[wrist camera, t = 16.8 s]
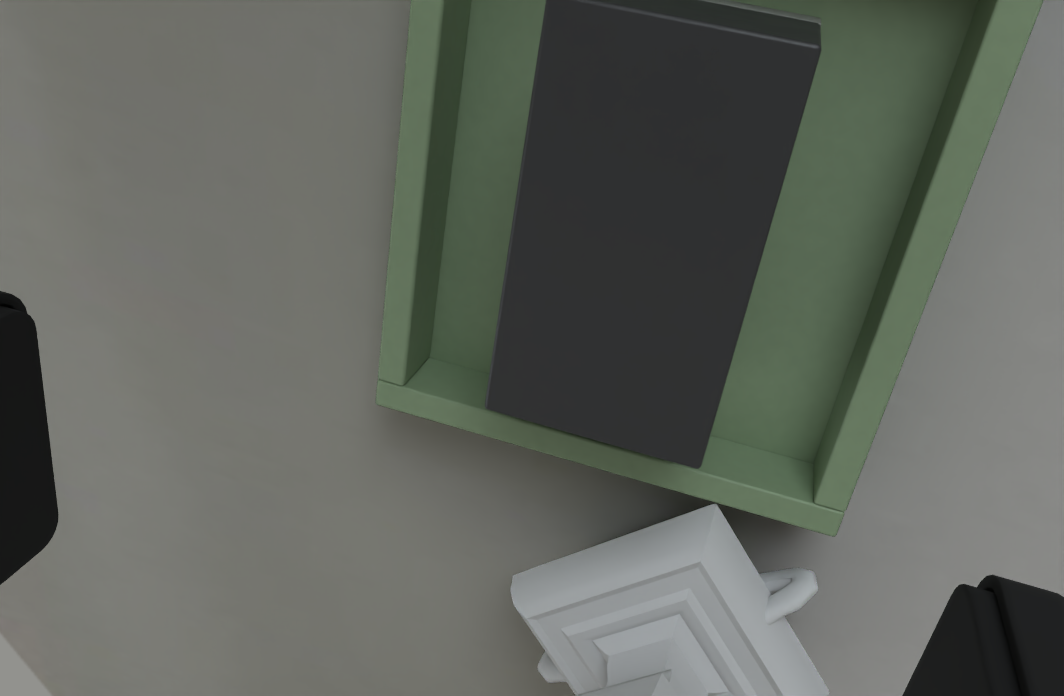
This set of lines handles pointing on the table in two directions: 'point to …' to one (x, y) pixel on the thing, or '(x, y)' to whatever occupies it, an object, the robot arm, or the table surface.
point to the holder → (788, 258)
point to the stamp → (669, 616)
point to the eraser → (645, 213)
